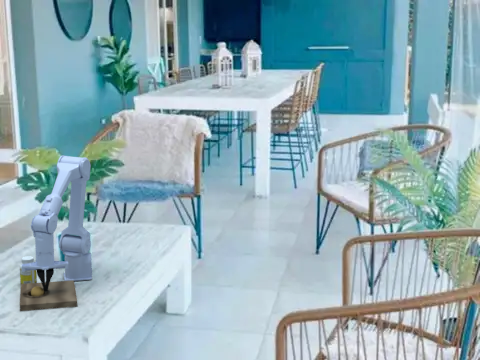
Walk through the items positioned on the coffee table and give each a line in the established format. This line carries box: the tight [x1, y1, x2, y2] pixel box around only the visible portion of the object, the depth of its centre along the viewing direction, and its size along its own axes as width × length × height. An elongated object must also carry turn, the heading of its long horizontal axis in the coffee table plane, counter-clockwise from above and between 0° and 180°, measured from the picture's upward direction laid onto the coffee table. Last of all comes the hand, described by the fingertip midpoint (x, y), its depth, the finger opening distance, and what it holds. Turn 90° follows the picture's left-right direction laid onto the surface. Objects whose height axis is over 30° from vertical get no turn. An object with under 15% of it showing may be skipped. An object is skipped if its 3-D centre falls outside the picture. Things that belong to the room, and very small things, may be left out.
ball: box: [31, 286, 44, 296], centre depth 216 cm, size 4×4×4 cm
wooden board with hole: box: [19, 280, 78, 312], centre depth 216 cm, size 18×18×2 cm
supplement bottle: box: [19, 255, 38, 285], centre depth 226 cm, size 5×5×10 cm
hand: (45, 290), depth 216 cm, fingers closed
